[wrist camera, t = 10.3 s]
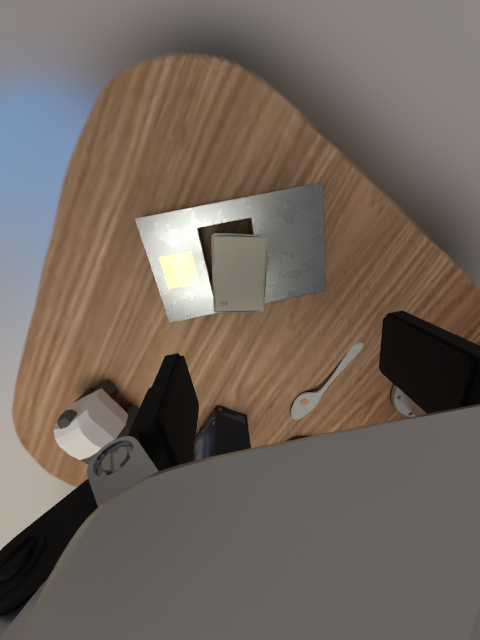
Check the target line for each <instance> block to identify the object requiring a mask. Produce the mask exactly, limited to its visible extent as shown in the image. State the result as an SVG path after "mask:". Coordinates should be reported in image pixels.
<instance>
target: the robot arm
mask: <svg viewBox="0 0 480 640" xmlns="http://www.w3.org/2000/svg"><path fill="white" fill-rule="evenodd" d="M379 368H380V371H381V372H382V374H383V375H385V376H386V377H387V378H388V379H389V380H390V381H391V382H392V383H393V384H394V386H393V389H392V392H391V402H392V404H393V406H394V407H395V409H396V410H398V411H399V412H400V413H401V414H403V415H405V416H408V417H407V418H402V419H397V420H392V421H387V422H381V423H376V424H371V425H366V426H361V427H356V428H350V429H345V430H340V431H335V432H330V433H325V434H320V435H315V436H310V437H305V438H300V439H295V440H290V441H285V442H280V443H275V444H270V445H265V446H260V447H255V448H250V449H245V450H240V451H236V452H231V453H226V454H221V455H217V456H212V457H208V458H204V459H200V460H196V461H193V453H194V444H195V436H196V428H197V419H198V411H199V404H198V399H197V396H196V393H195V390H194V387H193V383H192V380H191V377H190V374H189V371H188V367H187V364H186V361H185V358H184V356H180V355H179V354H178V353H177V354H172V355H167V356H165V358H164V360H163V362H162V365H161V367H160V369H159V372H158V374H157V376H156V378H155V381H154V383H153V385H152V387H151V388H149V389H148V391H147V393H146V395H145V398H144V400H143V402H142V404H141V407H140V409H139V411H138V413H137V415H136V418H135V420H134V422H133V424H132V427H131V429H130V431H129V433H128V436H125V437H120V438H117V439H115V440H113V441H111V442H109V443H108V444H106V445H105V446H104V447H102V448H101V449H100V450H99V451H98V452H97V453H96V454H95V455H94V457H93V458H92V460H91V462H90V463H89V466H88V469H87V476H88V479H87V480H86V481H85V482H83V483H82V484H81V485H80V486H78V487H77V488H76V489H75V490H73V491H72V492H71V493H70V494H68V495H67V496H66V497H65V498H63V499H62V500H61V501H60V502H58V503H57V504H56V505H55V506H53V507H52V508H51V509H50V510H48V511H47V512H46V513H45V514H43V515H42V516H41V517H40V518H38V519H37V520H36V521H35V522H33V523H32V524H31V525H30V526H28V527H27V528H26V529H25V530H23V531H22V532H21V533H20V534H18V535H17V536H16V537H15V538H13V539H12V540H11V541H10V542H9V543H8V544H7V545H6V546H5V547H3V548H2V550H1V551H0V640H480V346H479V345H477V344H475V343H472V342H470V341H468V340H466V339H464V338H461V337H459V336H457V335H455V334H453V333H450V332H448V331H446V330H444V329H442V328H439V327H437V326H435V325H433V324H431V323H429V322H426V321H424V320H422V319H420V318H418V317H415V316H413V315H411V314H409V313H407V312H404V311H398V312H393V313H388V314H387V316H386V317H385V318H384V319H383V327H382V338H381V350H380V361H379Z"/></svg>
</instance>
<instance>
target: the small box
mask: <svg viewBox="0 0 480 640" xmlns="http://www.w3.org/2000/svg"><path fill="white" fill-rule="evenodd" d="M250 448H251V445H250V438H249V431H248V421H247V416H245V415H242V414H239V413H236V412H234V411H231V410H229V409H227V408H223V407H220V406H216V407H215V409H214V410H213V412H212V413H211V415H210V416H209V418H208V419H207V421H206V422H205V424H204V425H203V427H202V428H201V429H200V431H199V432H198V434H197V435H196V437H195V444H194V453H193V461H196V460H200V459H204V458H208V457H212V456H217V455H221V454H226V453H231V452H236V451H240V450H245V449H250Z"/></svg>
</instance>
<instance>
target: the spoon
mask: <svg viewBox="0 0 480 640" xmlns="http://www.w3.org/2000/svg"><path fill="white" fill-rule="evenodd" d="M362 347H363V343H361V342H360V343H357V344H356V345H354V346H352V347H351V349H350V350H349V351H348V352H347V353H346V355H345V356H344V358H343V359H342V361H341V362H340V364H339V365H338V367H337V369H336V370H335V372H334V373H333V374H332V376H331V377H330V378H329V380H328V381H327V382H326V383H325V385H324V386H323V387H322V388H321V389H320V390H319V391H317V392H306V393H302V394H301V395H299V396H298V397H297V398H296V400H295V401H294V403H293V405H292V408H291V416H292V418H293V419H294V420H298V419H301V418H302V417H304V416H305V415H306V414H308V413H309V412H310V411H311V410H312V409H313V408H314V407H315V406H316V405H317V404H318V402H319V400H320V397H321V395H322V394H323V393H324V392H325V390H326V389H327V388H328V386H329V385H330V384H331V383H332V381H333V380H334V379H335V378H336V377H337V376H338V375H339V374H340V372H341V371H342V370H343V369H344V368H345V367H346V366H347V365H348V364H349V363H350V362H351V361H352V360H353V359H354V358H355V357H356V355H357V354H358V353H359V352H360V351H361V349H362ZM303 398H307V399H308V400H309V403H308V404H306V405H305V406H302V405H300V403H299V402H300V401H301V400H302V399H303Z"/></svg>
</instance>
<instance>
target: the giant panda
mask: <svg viewBox="0 0 480 640" xmlns="http://www.w3.org/2000/svg"><path fill="white" fill-rule="evenodd" d="M117 390H118V389H117V388H116V386H115V385H114V384H113V383H112V382H110V381H109V380H107V381H104V382H103V383H102V384H101V385H100V386H99V387H98V388H97V389H96V390H95V391H93V390H92V389H89V390H86V392H85V393H83V394H82V395H81V396H80V397H79V398H78V399H77V400H76V401H75V402H73V403H72V404H71V405H70V406H69V407H68V409H67V410H66V411H65V412H64V413H63V414H61V415H60V417H59V419H58V421H57V423H56V424H55V427H54V434H55V440H56V441H57V443H58V445H59V446H60V447H61V448H62V449H63V450H64V451H66V452H67V453H68V454H69V455H71V456H73V457H75V458H77V459H79V460H81V461H82V462H84V463H86V464H88V465H89V463H90V462H91V460H92V458H93V457H94V455H95V454H96V453H97V452H98V451H99V450H100V449H101V448H102V447H104V446H105V445H106V444H108V443H109V442H111V441H113V440H115V439H117V438H120V437H125V436H128V433H129V431H130V429H131V427H132V424H133V422H134V420H135V418H136V415H137V413H138V411H139V409H138V408H137V407H136V406H130V407H129V408H128V409H127V411H126V412H125V411H124V410H123V409H122V408H121V407H120V406H119V405H118V404H117V403H116V402H115V401H114V400H113V399H112V398H111V394H114V393H115V392H116V391H117Z"/></svg>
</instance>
